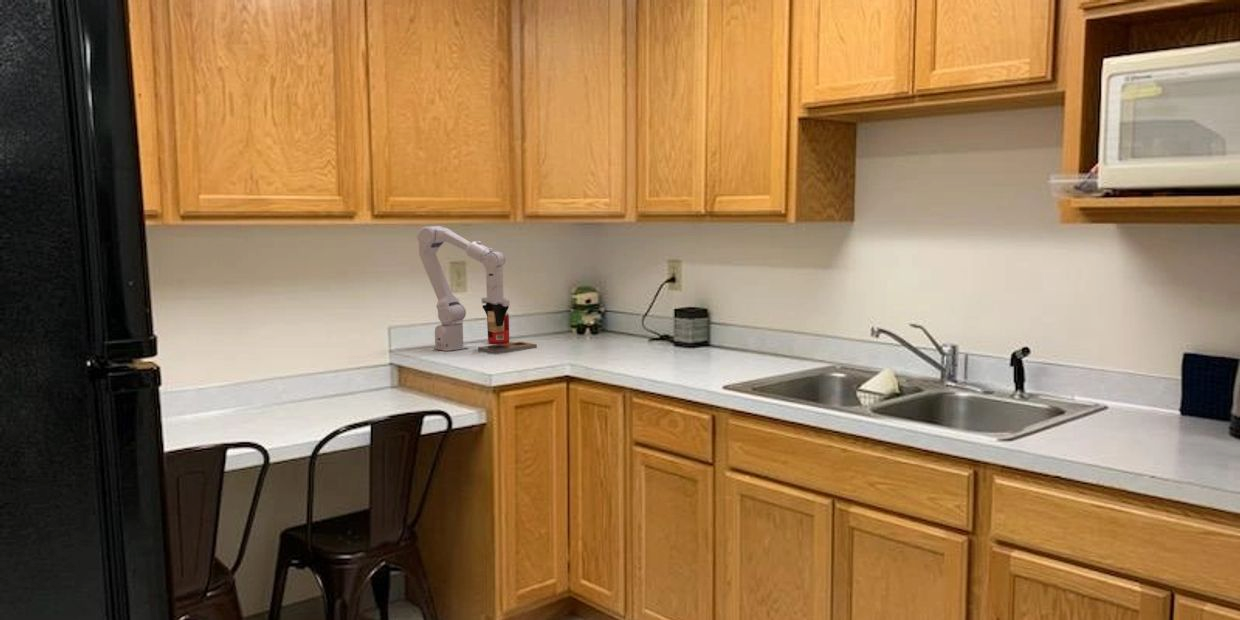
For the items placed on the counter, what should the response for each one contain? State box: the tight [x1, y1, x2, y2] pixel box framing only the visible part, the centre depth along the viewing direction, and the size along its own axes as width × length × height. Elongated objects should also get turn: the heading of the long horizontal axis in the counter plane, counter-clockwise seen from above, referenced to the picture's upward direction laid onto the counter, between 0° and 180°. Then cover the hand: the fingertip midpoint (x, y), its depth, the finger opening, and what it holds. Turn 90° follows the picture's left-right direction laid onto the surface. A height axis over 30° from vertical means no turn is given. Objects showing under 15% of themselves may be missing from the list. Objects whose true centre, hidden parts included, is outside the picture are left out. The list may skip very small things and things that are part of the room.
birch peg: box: [487, 311, 504, 332], centre depth 315 cm, size 4×4×7 cm
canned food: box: [486, 311, 510, 345], centre depth 334 cm, size 8×8×11 cm
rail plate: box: [477, 340, 538, 355], centre depth 319 cm, size 18×10×1 cm, turn 131°
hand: (496, 325), depth 315 cm, fingers closed on birch peg, 4 cm apart
